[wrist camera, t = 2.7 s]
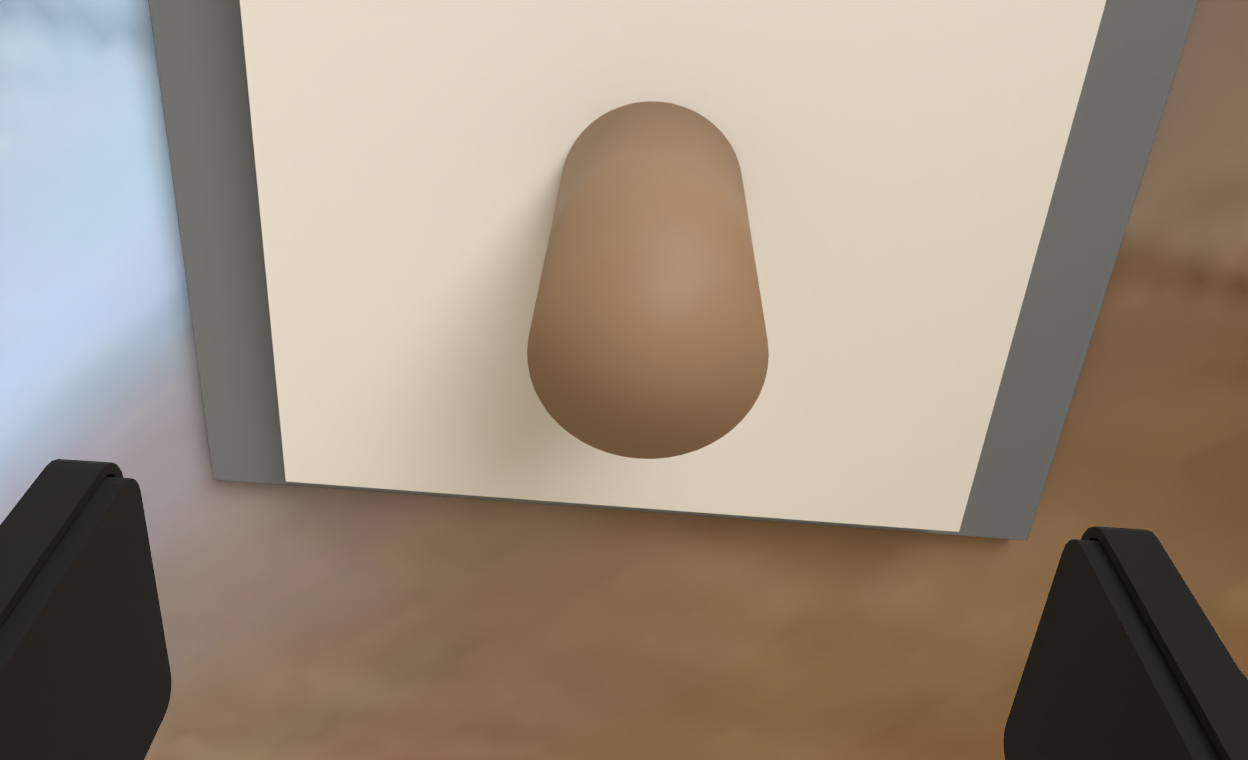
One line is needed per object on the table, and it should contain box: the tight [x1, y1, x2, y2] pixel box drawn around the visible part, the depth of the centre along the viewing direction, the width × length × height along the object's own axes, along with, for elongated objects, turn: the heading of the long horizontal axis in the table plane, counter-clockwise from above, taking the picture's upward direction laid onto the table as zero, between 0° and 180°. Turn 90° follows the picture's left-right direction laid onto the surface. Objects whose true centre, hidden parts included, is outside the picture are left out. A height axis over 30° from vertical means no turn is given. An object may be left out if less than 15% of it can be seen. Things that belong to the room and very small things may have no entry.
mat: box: [149, 0, 1198, 540], centre depth 22 cm, size 18×16×1 cm
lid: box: [240, 0, 1106, 532], centre depth 19 cm, size 14×14×7 cm
